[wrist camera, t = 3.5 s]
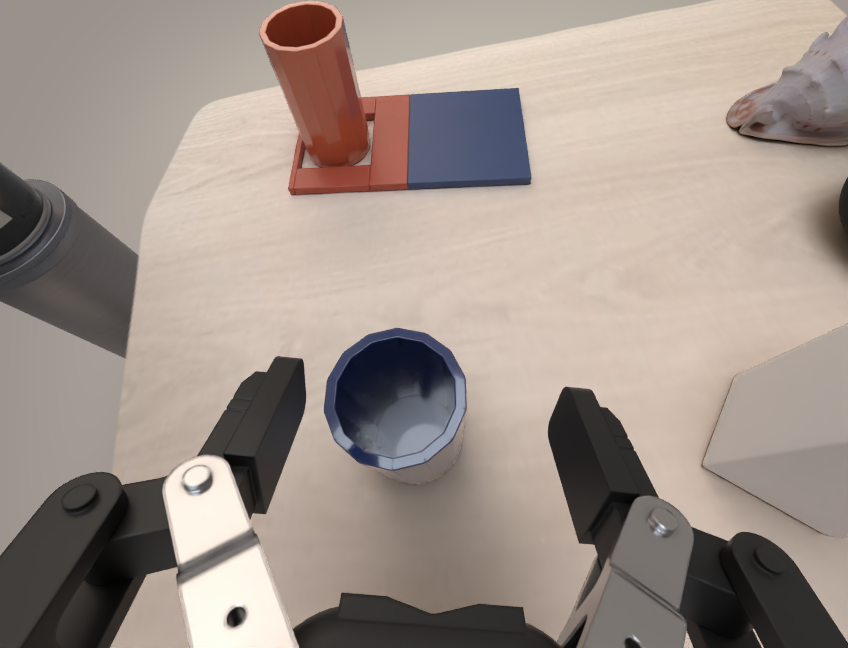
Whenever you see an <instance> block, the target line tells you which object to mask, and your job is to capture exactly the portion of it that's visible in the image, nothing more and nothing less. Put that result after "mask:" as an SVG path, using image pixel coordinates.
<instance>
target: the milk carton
mask: <svg viewBox="0 0 848 648" xmlns="http://www.w3.org/2000/svg"><path fill="white" fill-rule="evenodd" d="M703 466H704V467H705V468H707V469H708V470H710V471H712V472H714V473H716V474H717V475H719V476H721V477H723V478H724V479H726V480H728V481H730V482H732V483H733V484H735V485H737V486H739V487H741V488H742V489H744V490H746V491H748V492H749V493H751V494H753V495H755V496H757V497H758V498H760V499H762V500H764V501H765V502H767V503H769V504H771V505H773V506H774V507H776V508H778V509H780V510H782V511H783V512H785V513H787V514H789V515H790V516H792V517H794V518H796V519H798V520H799V521H801V522H803V523H805V524H807V525H808V526H810V527H812V528H814V529H815V530H817V531H819V532H821V533H823V534H824V535H828V536H839V537H848V323H847V324H845V325H843V326H841V327H838V328H836V329H834V330H832V331H830V332H828V333H826V334H824V335H821V336H819V337H817V338H815V339H813V340H811V341H809V342H806V343H804V344H802V345H800V346H798V347H796V348H794V349H792V350H789V351H787V352H785V353H783V354H781V355H779V356H777V357H774V358H772V359H770V360H768V361H766V362H764V363H762V364H760V365H757V366H755V367H753V368H751V369H749V370H747V371H745V372H743V373H740V374H738V375H736V376H735V378H734V380H733V382H732V385H731V388H730V390H729V393H728V396H727V398H726V401H725V404H724V406H723V409H722V412H721V414H720V417H719V420H718V422H717V425H716V428H715V431H714V433H713V436H712V439H711V441H710V444H709V447H708V449H707V452H706V455H705V458H704V461H703Z"/></svg>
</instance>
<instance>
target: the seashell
mask: <svg viewBox="0 0 848 648" xmlns="http://www.w3.org/2000/svg"><path fill="white" fill-rule="evenodd" d="M828 36H829V34H828V33H827V32H825V33H823V34H821V35H820V36H819V37H818V38H817V39H816V40H815V41H814V42H813V44H812V45H811V47H810V49H809V51H807V52H806V53H805V54H804V55H803V57H802V59H801V60H800V61H798V62H797V63H796V64H795V65H793V66H791V67H786V68H784V69H783V71H782V76H781V77H780V79H779V80H778V81H777V83H774V84H771V85H768V86H765V87H762V88H760V89H757V90H755V91H753V92H751V93H749V94H747V95H745V96H744V97H742V98H741V99H739V100H738V101H736V102H735V103H734V105H733V106H732V107H731V109H730V110H729V112H728V115H727V123H728V124H729V125H730V126H731V127H733V128H736V127H738V126H740V125H742V126H741V128H740V129H739V133H740V134H743V135H744V134H745V135H751V136H754V137H759V138H766V139H776V140H783V141H789V142H795V143H807V144H816V145H822V146H842V145H848V16H847V17H846V18H845V19H844V20H843V21H842V22H841V23H840V24H839V25H838V26H837V28H836V29H835V31H834V32H833V34H832V35H831V36H830V38H828Z"/></svg>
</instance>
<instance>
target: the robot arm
mask: <svg viewBox="0 0 848 648" xmlns="http://www.w3.org/2000/svg"><path fill="white" fill-rule="evenodd" d="M50 216H51V205H50V202H49V200H48V198H47V197H46V196H45V195H44V194H43V193H41V192H40V191H39V190H37V189H36V188H34V187H32V186H30V185H29V184H28V183H26V182H25V181H24V180H22V179H21V178H20V177H19V176H17V175H16V174H14V173H13V172H12V171H11V170H9V169H8V168H7V167H6V166H4V165H3V164H2V163H1V162H0V265H1V264H4V263H6V262H8V261H10V260H12V259H14V258H15V257H17V256H18V255H20V254H21V253H23V252H24V251H25V250H27V249H28V248H29V247H30V246H31V245H32V244H33V243H34V242H35V241H36V240H37V239H38V238H39V237H40V236H41V234H42V233H43V231H44V230H45V228H46V226H47V224H48V222H49V219H50ZM305 404H306V388H305V374H304V362H303V360H302V359H299V358H290V357H280V356H277V357H275V359H274V360H273V362H272V364H271V366H270V368H269V370H268V371H267V372H257V371H256V372H255V373H253V374H252V375H251V376H250V377H248V378H247V379H246V380H244V381H243V382H242V383H241V385H240V386H239V388H238V390H237V391H236V393H235V395H234V398H233V399H232V400H231V401H230V403H229V404H228V406H227V410H225V411H224V413H223V414H222V416H221V418H220V419H219V421H218V423H217V424H216V426H215V428H214V429H213V431H212V433H211V434H210V436H209V437H208V439H207V441H206V442H205V444H204V446H203V447H202V449H201V451H200V452H199V454H198V455H197V456H196V457H193V458H191V459H188V460H186V461H184V462H183V463H181V464H180V465H178V466H177V467H176V468H174V469H173V470H172V471H171V472H170V474H169V475H168V476H165V477H162V478H158V479H152V480H147V481H141V482H136V483H131V484H125V485H122V484H121V482H120V480H119V479H118V478H117V477H116V476H115V475H113V474H110V473H105V472H96V473H89V474H86V475H83V476H80V477H78V478H75V479H73V480H71V481H69V482H67V483H65V484H63V485H62V486H61V487H59V488H58V489H57V490H55V491H54V492H53V493H52V494H51V495H50V496H49V497H48V498H47V499H46V501H45V502H44V503H43V504H42V505H41V507H40V508H39V509H38V510H37V511H36V513H35V514H34V515H33V516H32V518H31V519H30V520H29V521H28V523H27V524H26V525H25V526H24V527H23V529H22V530H21V531H20V532H19V534H18V535H17V536H16V537H15V539H14V540H13V541H12V542H11V543H10V545H9V546H8V547H7V548H6V549H5V551H4V552H3V553H2V555H1V556H0V648H110V646H111V644H112V642H113V640H114V638H115V636H116V634H117V632H118V630H119V628H120V626H121V624H122V622H123V620H124V618H125V616H126V614H127V612H128V610H129V608H130V606H131V604H132V602H133V600H134V598H135V597H136V595H137V593H138V591H139V589H140V587H141V585H142V583H143V581H144V579H145V577H146V575H147V574H150V573H154V572H158V571H162V570H166V569H170V568H174V567H178V574H177V575H176V579H177V586H178V592H179V597H180V602H181V607H182V612H183V617H184V622H185V627H186V632H187V637H188V642H189V647H190V648H683V647H684V641H685V636H686V630H687V632H688V635H689V637H690V640H691V642H692V645H693V648H762V647H761V645H760V644H759V642H758V640H757V638H756V636H755V634H754V632H753V630H752V629H755V631H756V633H757V635H758V637H759V639H760V641H761V643H762V645H763V647H764V648H848V643H847V641H846V640H845V638H844V637H843V635H842V633H841V632H840V630H839V629H838V627H837V626H836V624H835V623H834V621H833V620H832V618H831V617H830V615H829V614H828V612H827V611H826V609H825V608H824V606H823V605H822V603H821V602H820V600H819V599H818V597H817V596H816V594H815V592H814V591H813V589H812V588H811V586H810V585H809V583H808V582H807V580H806V579H805V577H804V576H803V574H802V573H801V571H800V570H799V568H798V567H797V565H796V564H795V563H794V561H793V560H792V559H791V558H790V557H789V556H788V555H787V554H786V553H785V552H784V551H783V550H782V549H781V548H779V547H778V546H777V545H775V544H774V543H773V542H771V541H769V540H768V539H766V538H764V537H762V536H760V535H757V534H754V533H749V532H740V533H738V534H736V535H735V536H734V537H733V538H732V539H731V540H730V541H727V540H724V539H721V538H719V537H716V536H713V535H711V534H708V533H706V532H703V531H700V530H698V529H695V528H693V527H691V526H690V524H689V522H688V521H687V519H686V518H685V517H684V515H683V514H682V513H681V512H680V511H679V510H678V509H676V508H675V507H674V506H673V505H671V504H670V503H668V502H666V501H664V500H662V499H660V498H659V497H658V495H657V493H656V491H655V489H654V487H653V485H652V483H651V481H650V479H649V477H648V475H647V473H646V471H645V469H644V467H643V465H642V464H641V462H640V460H639V458H638V456H637V454H636V452H635V451H634V450H633V449H634V448H633V446H632V444H631V442H630V440H629V439H628V438H627V437H628V436H627V434H626V432H625V430H624V428H623V426H622V424H621V422H620V421H619V420H618V419H617V418H616V417H615V416H614V415H613V413H612V412H611V411H610V410H609V409H608V408H603V407H600V406H599V404H598V401H597V399H596V397H595V395H594V393H593V391H592V390H590V389H583V388H573V387H565V388H563V390H562V392H561V394H560V396H559V399H558V401H557V404H556V406H555V409H554V411H553V414H552V416H551V419H550V421H549V426H548V438H549V443H550V446H551V449H552V453H553V456H554V460H555V463H556V466H557V470H558V473H559V477H560V480H561V483H562V487H563V490H564V494H565V497H566V500H567V504H568V507H569V511H570V514H571V517H572V521H573V524H574V528H575V531H576V535H577V538H578V541H579V543H582V544H593V545H595V548H596V551H597V556H596V557H595V559H594V561H593V563H592V566H591V568H590V570H589V573H588V575H587V577H586V580H585V582H584V584H583V587H582V589H581V591H580V594H579V596H578V598H577V601H576V603H575V606H574V608H573V610H572V613H571V615H570V617H569V619H568V621H567V623H566V625H565V627H564V628H563V630H562V632H561V634H560V636H559V638H558V640H557V642H556V641H554V640H553V639H552V638H551V637H550V636H548V635H547V634H545V633H544V632H542V631H541V630H539V629H537V628H536V627H534V626H532V625H530V624H528V623H525V618H524V611H523V607H511V606H499V605H487V604H476V605H472V606H468V607H463V608H459V609H455V610H450V611H446V612H442V613H437V614H431V613H428V612H425V611H423V610H420V609H418V608H415V607H413V606H410V605H407V604H405V603H402V602H400V601H397V600H395V599H392V598H390V597H387V596H376V595H364V594H352V593H341V599H340V604H339V607H334V608H330V609H327V610H325V611H322V612H319V613H317V614H315V615H314V616H312V617H310V618H308V619H306V620H305V621H303V622H302V623H301V624H299V625H298V626H296V627H295V628H294V629H292V627H291V624H290V621H289V619H288V616H287V613H286V611H285V608H284V605H283V602H282V600H281V597H280V594H279V592H278V589H277V586H276V584H275V581H274V578H273V576H272V573H271V570H270V567H269V565H268V562H267V559H266V557H265V554H264V551H263V549H262V546H261V543H260V541H259V538H258V536H257V534H255V532H254V530H253V528H252V525H251V522H250V519H251V516H252V514H253V513H258V514H266V512H267V510H268V507H269V504H270V502H271V499H272V496H273V494H274V491H275V488H276V486H277V483H278V480H279V478H280V475H281V473H282V470H283V467H284V465H285V462H286V459H287V457H288V454H289V451H290V449H291V446H292V443H293V441H294V438H295V435H296V433H297V430H298V427H299V425H300V422H301V420H302V417H303V414H304V410H305Z"/></svg>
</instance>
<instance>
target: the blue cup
mask: <svg viewBox="0 0 848 648" xmlns="http://www.w3.org/2000/svg"><path fill="white" fill-rule="evenodd" d="M466 411H467V399H466V378H465V375H464V374H463V372H462V370H461V368H460V366H459V364H458V363H457V361H456V359H455V357H454V355H453V353H452V352H451V351H450V350H449V349H448V348H447V347H445V346H444V345H442V344H441V343H440V342H438V341H437V340H435V339H434V338H432V337H431V336H430V335H428V334H426V333H422V332H417V331H411V330H406V329H401V328H394V329H390V330H385V331H381V332H377V333H372V334H369V335H367V336H365V337H364V338H363V339H361V340H360V341H358V342H357V343H356V344H354V345H353V346H352V347H350V348H349V349H347V350H346V351H345V352H344V353H343V354H342V355H341V357H340V359H339V360H338V362H337V364H336V365H335V367H334V369H333V371H332V372H331V374H330V376H329V377H328V380H327V385H326V394H325V403H324V413H325V416H326V419H327V422H328V424H329V427H330V430H331V433H332V435H333V438H334V440H335V442H336V443H337V444H338V445H339V446H341V447H342V448H343V449H344V450H345V451H346V452H347V453H348V454H349V455H351V456H352V457H353V458H354V459H355V460H356V461H357V462H358V463H360V464H362V465H364V466H366V467H368V468H370V469H373V470H375V471H377V472H379V473H381V474H383V475H385V476H387V477H389V478H391V479H393V480H396V481H400V482H403V483H408V484H412V485H417V484H423V483H428V482H430V481H433V480H436V479H438V478H439V477H440V476H442V475H443V474H445V473H446V472H447V471H448V470H449V469H450V468H451V467H452V466H453V464H454V462H455V460H456V458H457V456H458V454H459V451H460V448H461V446H462V441H463V433H464V426H465V418H466Z"/></svg>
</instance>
